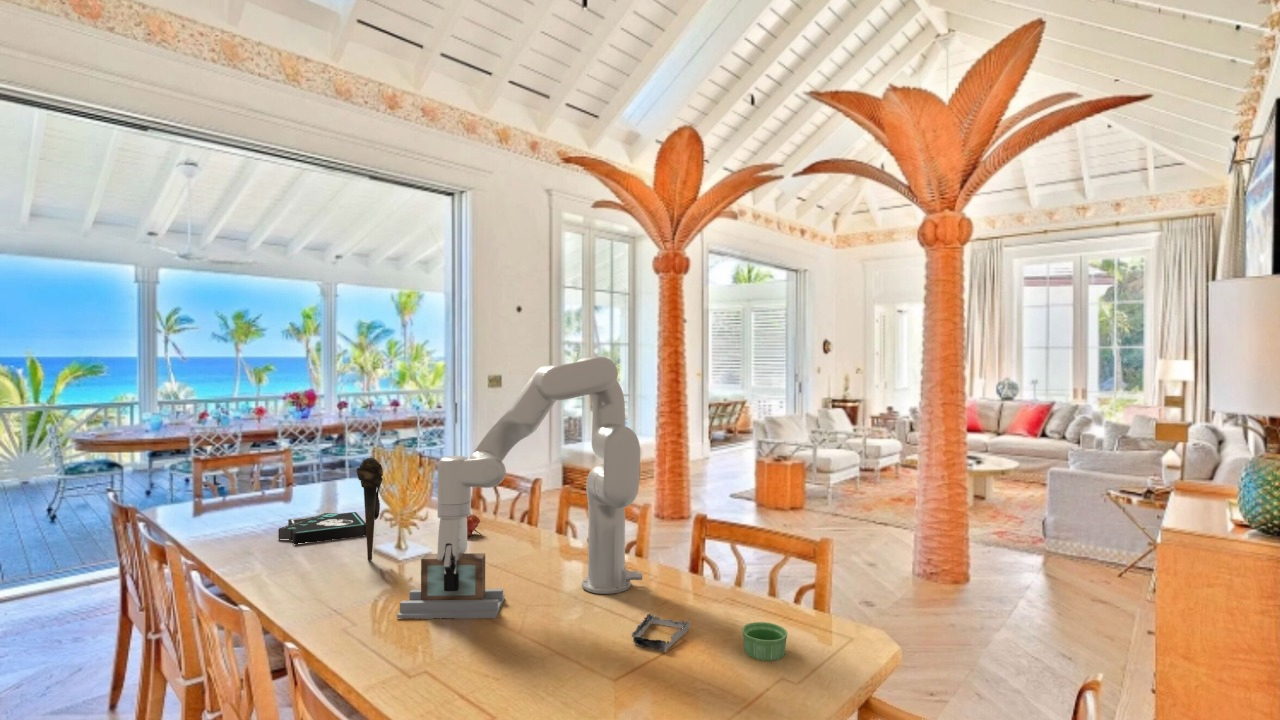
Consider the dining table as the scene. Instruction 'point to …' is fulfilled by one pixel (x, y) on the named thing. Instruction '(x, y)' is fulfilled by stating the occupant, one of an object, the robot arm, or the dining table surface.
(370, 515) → the decorative torch
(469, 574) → the picture frame
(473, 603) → the display stand
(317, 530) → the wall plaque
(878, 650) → the dining table surface
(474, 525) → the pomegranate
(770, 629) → the ramekin
